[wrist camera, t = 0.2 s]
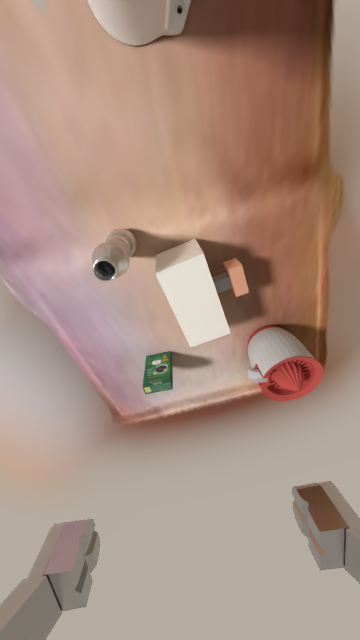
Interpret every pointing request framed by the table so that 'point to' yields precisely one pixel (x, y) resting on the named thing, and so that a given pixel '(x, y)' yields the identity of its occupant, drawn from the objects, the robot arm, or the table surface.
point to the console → (191, 292)
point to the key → (231, 278)
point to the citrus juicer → (282, 364)
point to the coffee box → (158, 373)
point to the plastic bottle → (113, 255)
